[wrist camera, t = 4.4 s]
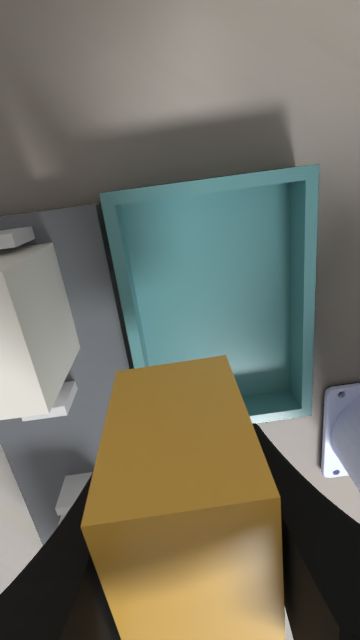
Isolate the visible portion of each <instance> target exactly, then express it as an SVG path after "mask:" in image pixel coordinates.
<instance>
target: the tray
mask: <svg viewBox="0 0 360 640" xmlns="http://www.w3.org/2000/svg"><path fill="white" fill-rule="evenodd" d="M318 188H319V164H315V165H306V166H298V167H290V168H282V169H275V170H267V171H260V172H252V173H245V174H237V175H230V176H222V177H215V178H207V179H200V180H192V181H185V182H177V183H170V184H162V185H155V186H147V187H140V188H132V189H125V190H117V191H110V192H104V193H99V196H100V201H101V206H102V211H103V216H104V221H105V226H106V231H107V236H108V241H109V246H110V251H111V256H112V261H113V266H114V271H115V276H116V281H117V286H118V291H119V296H120V301H121V305H122V310H123V315H124V320H125V325H126V330H127V335H128V340H129V345H130V350H131V355H132V360H133V365H134V369H135V368H141V367H148V366H155V365H162V364H168V363H175V362H182V361H188V360H195V359H202V358H208V357H215V356H222V355H226V356H227V359H228V362H229V364H230V367H231V369H232V372H233V375H234V377H235V380H236V383H237V385H238V388H239V390H240V393H241V396H242V398H243V401H244V403H245V406H246V409H247V411H248V414H249V416H250V419H251V422H252V424H253V423H262V422H270V421H277V420H284V419H291V418H298V417H306V416H312V383H313V351H314V318H315V286H316V253H317V220H318Z"/></svg>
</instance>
